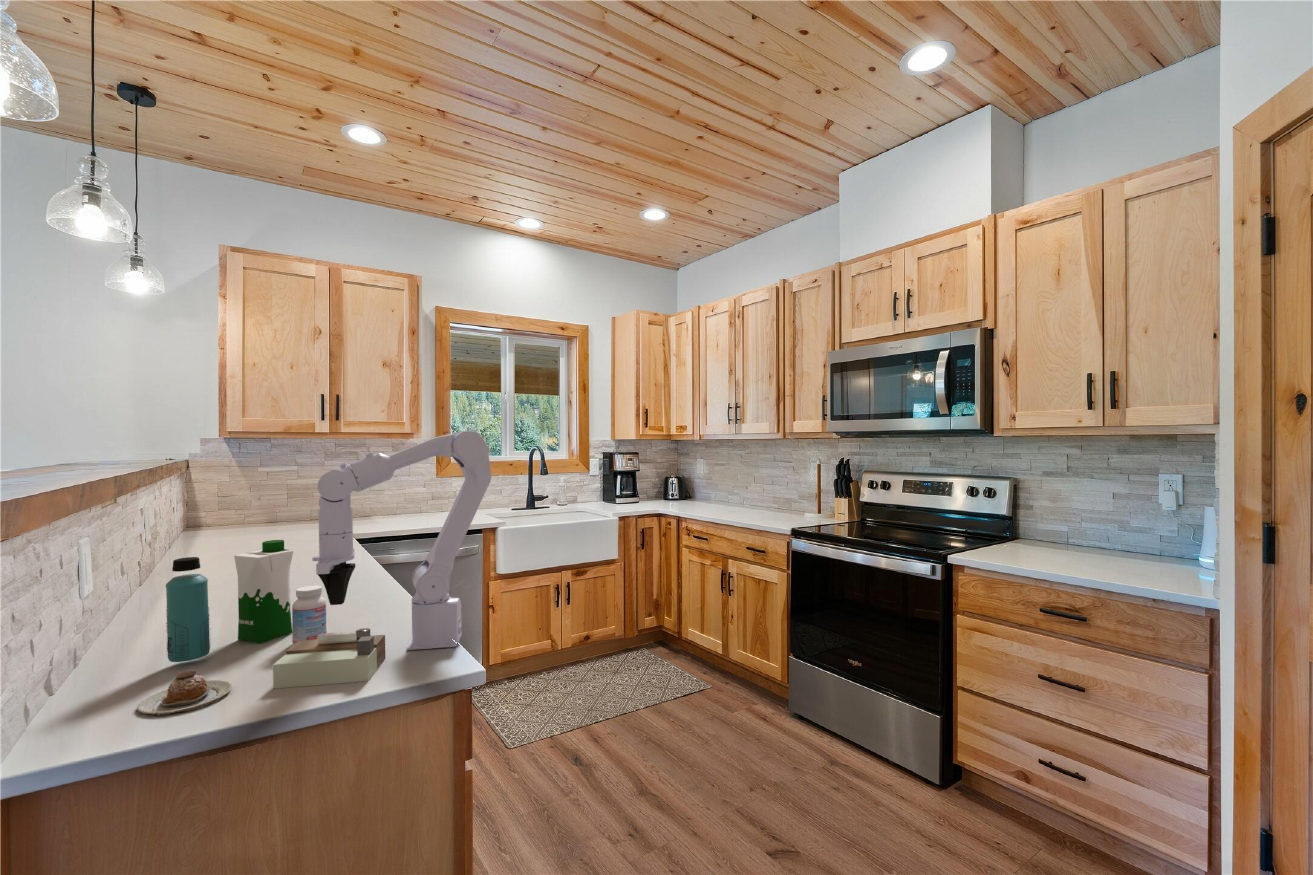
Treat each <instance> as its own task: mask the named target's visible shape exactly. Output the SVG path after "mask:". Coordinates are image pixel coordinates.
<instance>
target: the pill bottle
mask: <svg viewBox="0 0 1313 875" xmlns="http://www.w3.org/2000/svg"><path fill="white" fill-rule="evenodd" d="M322 593H323V587H322V586H321V585H306V586H302V587H298V588H297V589H295V596H296V598H297V599H296V600H295V601H293V603H292V606H291V608H292V610H291V623H292V633H291V634H292V636H291V637H292V646H293V645H294V644H296V643H297V642H298V641H301V640H315V639H318V638H317V636H318V635H320V634H322V633H328V632H327V631H328V630H327V601H326V599H325V597H323V596H322V595H323V594H322Z"/></svg>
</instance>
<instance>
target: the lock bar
mask: <svg viewBox="0 0 1313 875" xmlns="http://www.w3.org/2000/svg"><path fill="white" fill-rule="evenodd" d="M364 636H371V628H369V627H367V628H366V627H365V628H360V629H357V630H353V631H340V632H339V631H338V632H327V633H322V634H320V635H318V636H317V638H318V645H319V644H333V643H347V642H357V641H358V640H359V639H360V638H361V637H364Z"/></svg>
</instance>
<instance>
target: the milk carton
mask: <svg viewBox="0 0 1313 875" xmlns="http://www.w3.org/2000/svg"><path fill="white" fill-rule="evenodd" d="M293 554H294V550H290V549H285V540H284V539H273V540H266V541H265V540H264V541H263V542H262V543H261V549H260V550H255V551H247V552H245V553H240V554H235V555H233V558H234V562H235V568H236V573H237V600H238V601H237V603H238V604H237V605H238V607H237V610H238V611H237V612H238V621H237V623H238V624H237V640H238V641H241V642H246V643H254V644H259V645H260V644H264V643H267V642H270V641H273V640H276V639H279V638H282V637H284V636H287V635H291V634H292V610H291V571H290V570H291V565H292V559H293Z"/></svg>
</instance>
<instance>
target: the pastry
mask: <svg viewBox="0 0 1313 875" xmlns="http://www.w3.org/2000/svg"><path fill="white" fill-rule="evenodd" d="M232 688H233V685H232V683H231V682H229V681H227V680H226V681H224V680H220V679H219V680H218V679H215V680H214V679H213V680H212V679H211V680H206V678H205V677H204V676H202V675H200V674H198V675H197V671H196V670H187V671H182V672H180V673H177V674H176V675H175V679H174V680H172V681H171V683H170V684H169V685H168V688H167V689H164V690H161V691H160V692H159V691H158V692H156V693H154V694H152V695H150V696H148V697H146V698H145V699H144V700H141V701H140V702H139V704H138V705H137V711H138V712H139V713H142V714H147V715H154V716H160V717H161V716H165V715H169V714H170V715H171V714H175V713H177V714H178V713H180V712H189V711H193V710H196V709H199V708H203V707H205V706H208V705H211V704H212V703H215V702H217V701H220V700H221V698H222V697H224V696H225V695H227V694H228V693H229V692H230V691H231V690H232ZM211 690H212V691H214V692H215V693H216V694H215V695H214V696H213V697H212V698H210V699H207V700H205V701H203V702H201V703H198V704H197V702H198V701H200V700H202V699H203V698H204V697H205V696H206V695H207V694H209V692H210V691H211ZM160 702H161V703H160ZM158 703H160V704H161V705H162V706H163V707H167V708H168V707H169V708H171V707H173V708H174V707H179V706H181V707H182V706H185V705H191V704H195V703H196V704H195V705H192V706H187V707H182V708H178V709H169V710H168V709H166V710H160V709H156V705H157V704H158Z"/></svg>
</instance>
